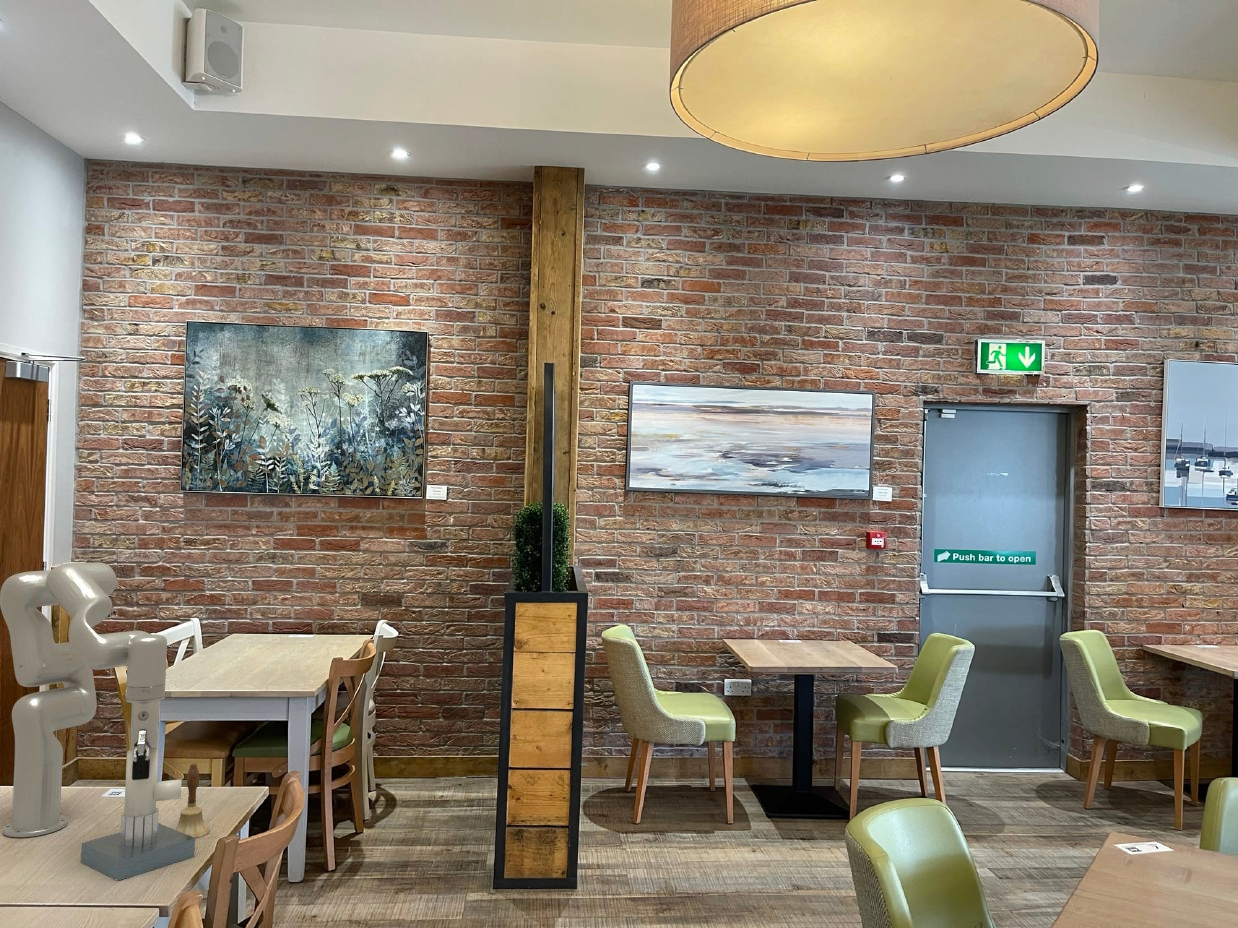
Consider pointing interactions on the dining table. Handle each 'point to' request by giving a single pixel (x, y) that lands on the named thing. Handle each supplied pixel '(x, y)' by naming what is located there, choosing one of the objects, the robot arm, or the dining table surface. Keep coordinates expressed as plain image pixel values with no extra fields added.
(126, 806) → the white tall branched piece
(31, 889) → the dining table surface
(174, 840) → the vent box
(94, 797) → the dining table surface
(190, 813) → the hand bell
